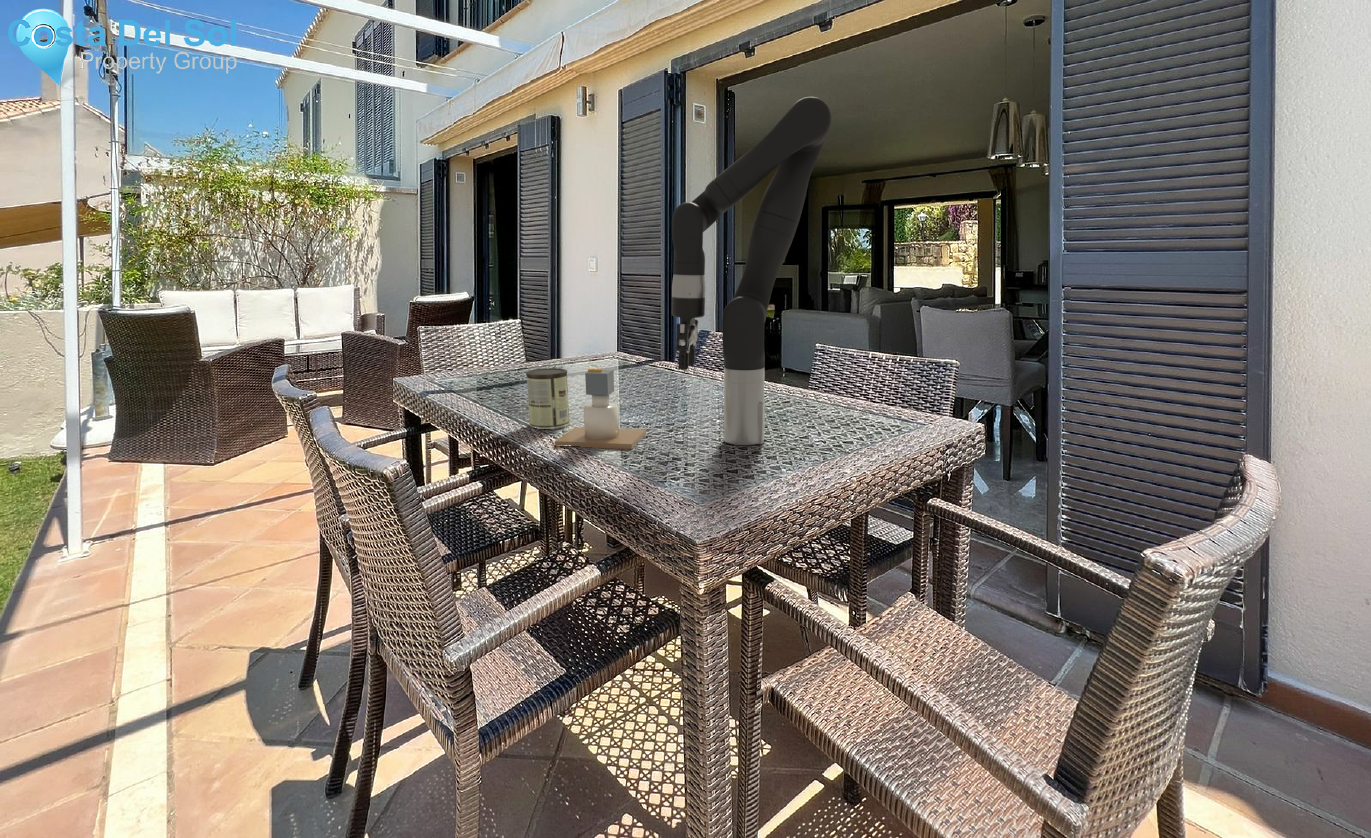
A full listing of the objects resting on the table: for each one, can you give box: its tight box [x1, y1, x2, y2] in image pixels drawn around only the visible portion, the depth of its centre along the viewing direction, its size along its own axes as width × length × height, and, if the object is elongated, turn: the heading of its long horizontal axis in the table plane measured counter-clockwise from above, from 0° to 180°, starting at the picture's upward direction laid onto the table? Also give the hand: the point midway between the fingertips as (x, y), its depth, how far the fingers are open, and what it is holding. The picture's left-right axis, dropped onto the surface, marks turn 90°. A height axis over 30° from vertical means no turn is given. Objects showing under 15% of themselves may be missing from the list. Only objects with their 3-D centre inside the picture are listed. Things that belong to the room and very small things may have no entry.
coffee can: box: [525, 367, 570, 430], centre depth 181 cm, size 10×10×14 cm
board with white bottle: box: [554, 394, 647, 450], centre depth 165 cm, size 18×14×11 cm
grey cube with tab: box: [584, 368, 615, 396], centre depth 163 cm, size 5×5×6 cm
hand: (686, 366), depth 163 cm, fingers open, 8 cm apart
